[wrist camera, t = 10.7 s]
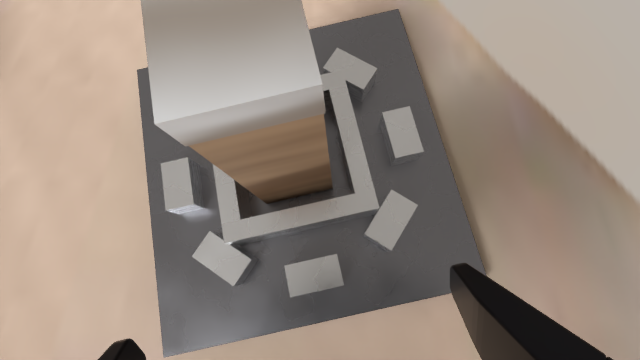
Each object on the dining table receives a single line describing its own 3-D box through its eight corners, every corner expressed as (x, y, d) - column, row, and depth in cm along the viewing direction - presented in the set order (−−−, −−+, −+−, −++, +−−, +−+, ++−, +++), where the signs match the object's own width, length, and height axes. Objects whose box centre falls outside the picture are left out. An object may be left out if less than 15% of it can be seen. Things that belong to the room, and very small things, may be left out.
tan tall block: (333, 188, 19) (322, 83, 8) (266, 205, 19) (154, 124, 8) (318, 126, 20) (288, -51, 9) (254, 141, 20) (139, -15, 9)
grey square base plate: (481, 283, 19) (512, 288, 15) (172, 352, 19) (135, 373, 15) (395, 19, 23) (405, -23, 20) (145, 77, 23) (112, 46, 20)
